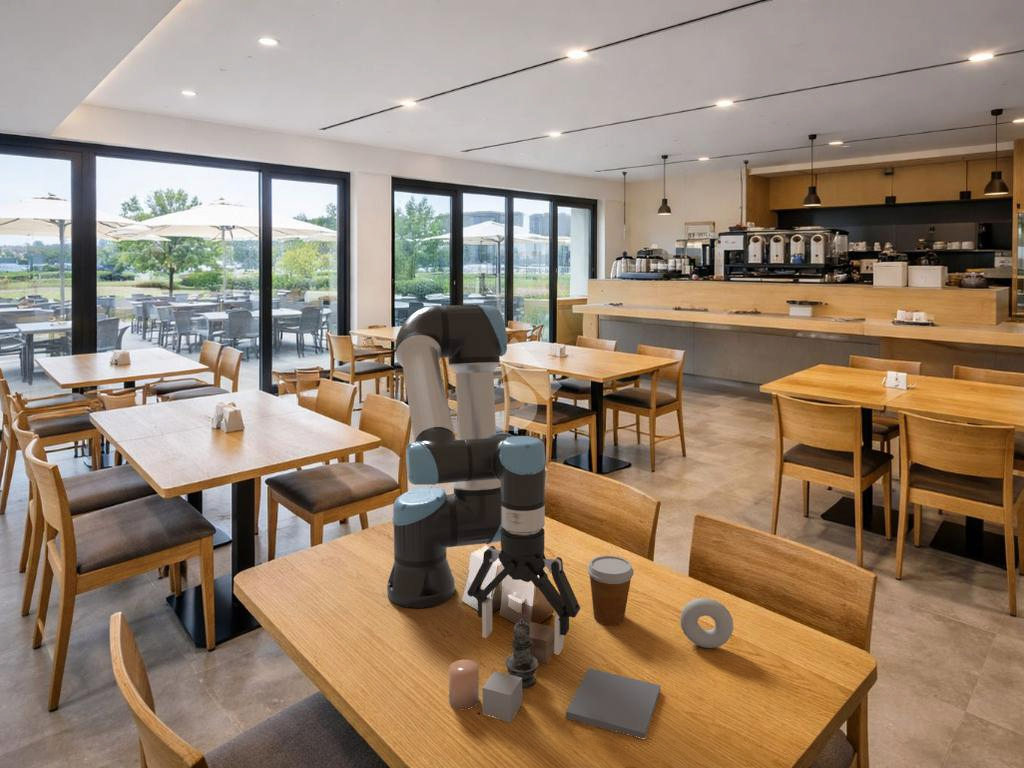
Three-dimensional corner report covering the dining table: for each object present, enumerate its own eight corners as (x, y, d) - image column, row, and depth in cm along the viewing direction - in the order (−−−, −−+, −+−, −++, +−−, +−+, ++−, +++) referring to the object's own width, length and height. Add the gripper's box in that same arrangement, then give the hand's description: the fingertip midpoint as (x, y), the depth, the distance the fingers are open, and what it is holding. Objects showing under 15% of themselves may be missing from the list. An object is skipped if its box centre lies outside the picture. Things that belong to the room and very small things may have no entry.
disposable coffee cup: (577, 617, 140) (578, 564, 138) (604, 601, 146) (606, 550, 144) (613, 635, 133) (615, 579, 131) (640, 617, 140) (643, 564, 138)
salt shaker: (518, 666, 123) (519, 606, 121) (544, 678, 119) (545, 617, 117) (498, 681, 118) (498, 619, 116) (524, 694, 115) (524, 631, 112)
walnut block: (521, 659, 125) (521, 635, 124) (530, 645, 130) (530, 621, 129) (546, 665, 123) (546, 640, 122) (554, 651, 128) (555, 627, 127)
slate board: (565, 718, 109) (566, 711, 109) (588, 673, 121) (588, 667, 120) (644, 740, 104) (645, 733, 104) (660, 691, 116) (660, 685, 115)
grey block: (482, 714, 110) (482, 687, 109) (495, 696, 114) (494, 670, 113) (510, 722, 108) (510, 695, 107) (521, 704, 112) (522, 677, 111)
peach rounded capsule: (443, 704, 112) (443, 672, 111) (457, 687, 116) (457, 656, 115) (470, 713, 110) (470, 680, 109) (483, 695, 114) (483, 664, 113)
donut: (732, 646, 129) (735, 599, 128) (731, 656, 126) (735, 608, 124) (679, 636, 133) (682, 590, 131) (677, 645, 130) (680, 598, 128)
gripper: (447, 524, 115) (449, 637, 118) (586, 547, 105) (584, 669, 109) (467, 510, 122) (468, 617, 125) (599, 530, 112) (596, 646, 116)
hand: (522, 642), depth 117 cm, fingers open, 13 cm apart
